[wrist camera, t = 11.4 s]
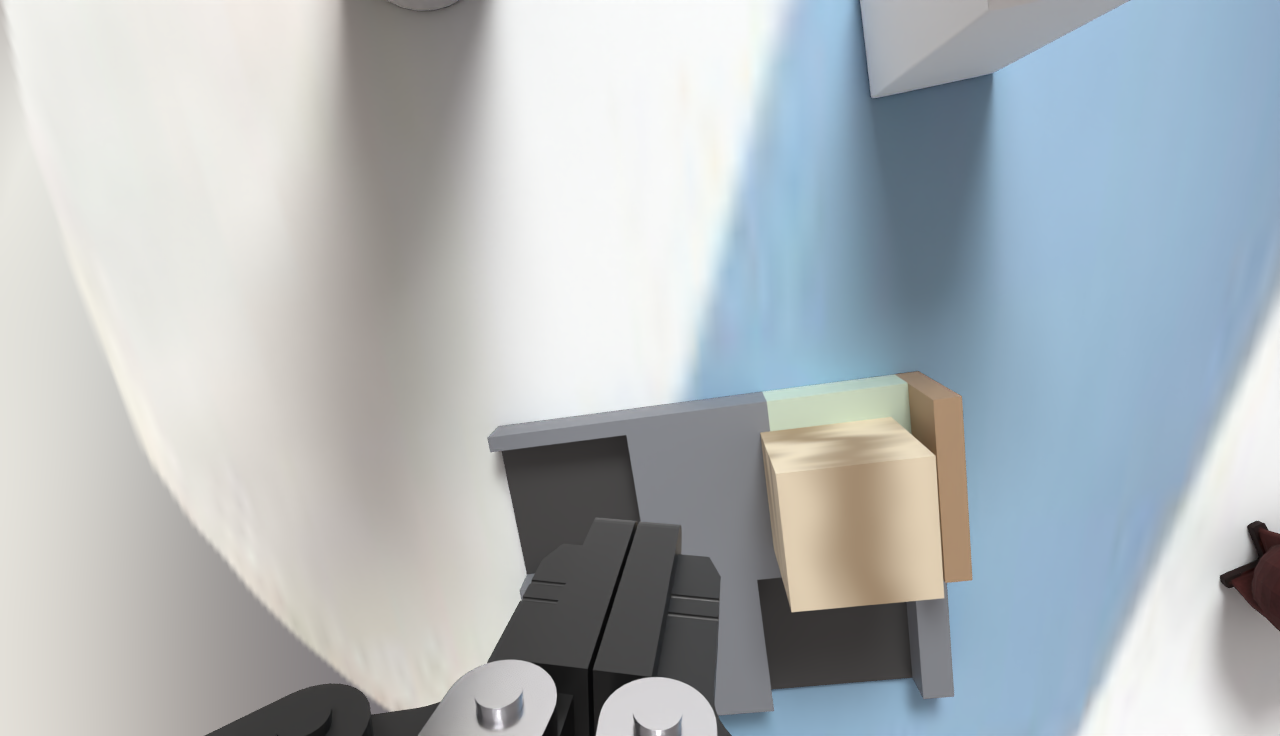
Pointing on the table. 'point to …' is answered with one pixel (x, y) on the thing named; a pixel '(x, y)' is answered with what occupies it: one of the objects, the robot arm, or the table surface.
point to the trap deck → (748, 522)
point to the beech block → (853, 514)
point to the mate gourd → (1260, 574)
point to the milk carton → (961, 37)
